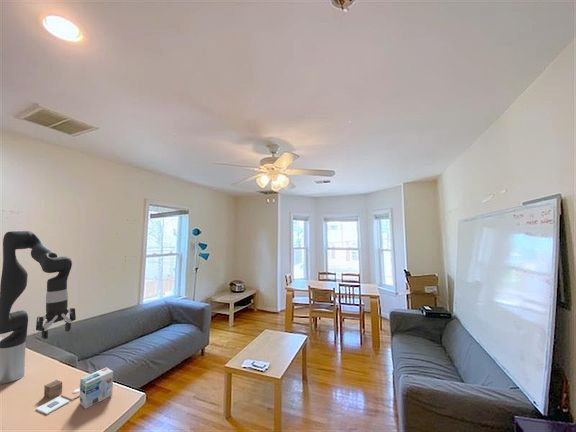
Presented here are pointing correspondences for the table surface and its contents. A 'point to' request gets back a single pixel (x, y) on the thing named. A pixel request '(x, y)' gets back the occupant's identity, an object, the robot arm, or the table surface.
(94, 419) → the table surface
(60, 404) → the box tile
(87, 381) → the light bulb box
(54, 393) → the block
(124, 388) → the table surface
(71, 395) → the mug tile
